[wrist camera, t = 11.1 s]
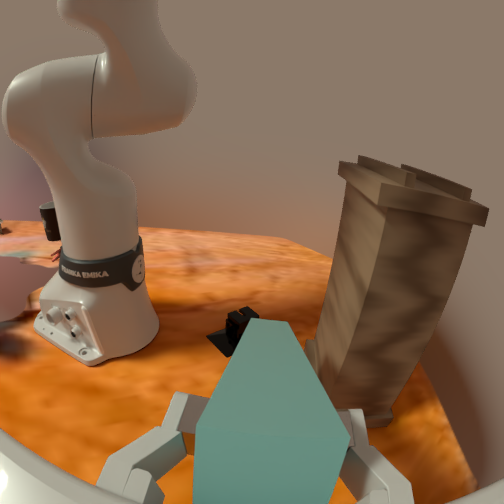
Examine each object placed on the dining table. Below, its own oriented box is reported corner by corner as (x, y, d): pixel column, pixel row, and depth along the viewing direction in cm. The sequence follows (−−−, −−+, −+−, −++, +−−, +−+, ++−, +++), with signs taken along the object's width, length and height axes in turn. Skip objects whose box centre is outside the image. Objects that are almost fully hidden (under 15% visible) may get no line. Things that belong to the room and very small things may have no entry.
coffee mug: (45, 234, 71) (41, 203, 67) (70, 230, 76) (66, 199, 72) (41, 248, 63) (35, 213, 59) (68, 243, 67) (63, 208, 63)
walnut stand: (307, 428, 27) (383, 167, 16) (304, 349, 40) (340, 152, 29) (386, 426, 27) (491, 196, 15) (367, 352, 39) (419, 168, 28)
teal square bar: (192, 516, 5) (195, 424, 5) (247, 352, 27) (251, 317, 27) (318, 527, 5) (350, 437, 5) (282, 356, 27) (287, 321, 27)
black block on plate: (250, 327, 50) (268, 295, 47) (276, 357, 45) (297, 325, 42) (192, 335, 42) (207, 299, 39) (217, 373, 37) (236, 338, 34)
